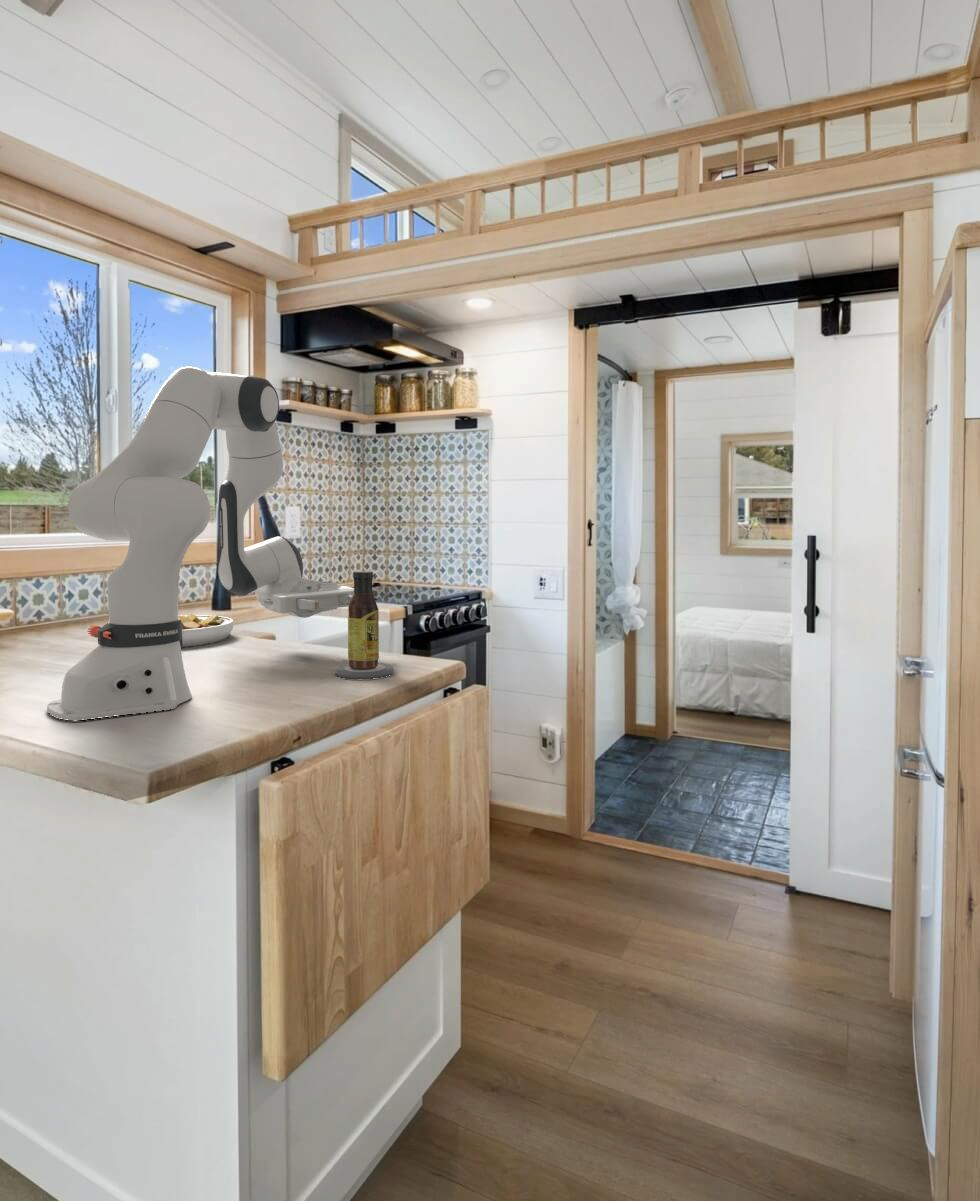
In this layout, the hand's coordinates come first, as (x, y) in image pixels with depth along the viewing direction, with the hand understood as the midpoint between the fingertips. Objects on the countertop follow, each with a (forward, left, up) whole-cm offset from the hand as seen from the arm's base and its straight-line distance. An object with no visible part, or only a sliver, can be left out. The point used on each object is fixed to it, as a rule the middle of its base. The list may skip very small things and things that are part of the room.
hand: (335, 603), depth 164 cm
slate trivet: (0, -11, -14) cm, 18 cm away
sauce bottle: (0, -11, -13) cm, 17 cm away
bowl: (-12, +59, -14) cm, 61 cm away
